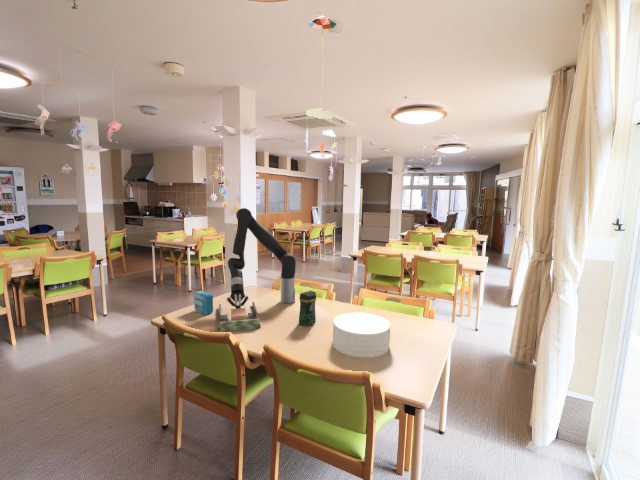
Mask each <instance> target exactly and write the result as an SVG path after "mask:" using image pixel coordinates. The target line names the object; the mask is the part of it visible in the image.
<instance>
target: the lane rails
mask: <svg viewBox="0 0 640 480" xmlns="http://www.w3.org/2000/svg"><path fill="white" fill-rule="evenodd" d="M251 304H252V309H253V313H255V317H256V318H248V319H247V320H237V321H231V320H224V321H222V320H221V315H222V314H221V313H222V311H221V310H222V304H221V303H219V305H218V326H217V327H218V328H217V329H218V330H217V331H223V332H231V331H232V330H234V331H242V330H251V329H252V330H253V329H255V330H256V329H260V328H261V322H260V318H259V315H258V311H257V307H256V303H255V301H252V303H251ZM229 330H230V331H229Z"/></svg>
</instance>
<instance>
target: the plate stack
mask: <svg viewBox="0 0 640 480" xmlns="http://www.w3.org/2000/svg"><path fill="white" fill-rule="evenodd" d="M332 321H333V323H332V324H333V325H332V346H333V348H335V350H337V351H338V352H339V353H342V354H343V355H346V356H350V357H353V358H354V357H355V358H363V359H369V358H370V359H371V358H377V357H380V356H383V355H385V354H387V353H388V352H389V350H390V344H391V343H390V342H391V340H390V339H391V322H390V321H389V320H388V319H386V318H385V317H383V316H379V315H377V314H374V313H369V312H359V311H358V312H346V313H341V314H339V315H337V316H336V317H334V319H333V320H332ZM387 351H388V352H387ZM386 352H387V353H386Z"/></svg>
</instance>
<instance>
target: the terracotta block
mask: <svg viewBox="0 0 640 480" xmlns="http://www.w3.org/2000/svg"><path fill="white" fill-rule="evenodd" d="M246 310H247V309H246V307H242V308H240V309H236V308H231V309H230V316H231V317H230V321H237V320H248V319H247V317H248V313H247V311H246Z"/></svg>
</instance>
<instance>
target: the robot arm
mask: <svg viewBox="0 0 640 480" xmlns="http://www.w3.org/2000/svg"><path fill="white" fill-rule="evenodd" d="M235 215H236V216H235V217H236V219H237V228H236V229H237V230H236V233H235V237H234V241H233V247H232V254H233V255H236V256H238V257H239V258H238V257H237V258H235V257H230V258H229V259H228V260H227V266H228V267H227V268H228V270H229V272H230V295H229V297H226V301H227V302H228V303H229V304H230V305H231V306H232V307H235V309H240V308H241V307H242V306H243V307H244V305H245V304H246V303H247V302H248V301H249V296H247V295H245V288H244V280H243V279H244V277H243V271H242V270H243V269H244V268H245V267H246V265H245V264H246V262H245V247H246V240H247V233H248V230H249V231H250V232H251V233H252V235H253V236H254V237H255V238H256V239H257V240H258V242H259V243H260V244H261V245H262V246H263V247H264V248H266V249H267V251H269V252H271V253H272V254H273V255H274V256H275V257H276V258H277V259H278V260H279V262H280V264H281V273H280V302H281V303H282V304H293V303H296V288H295V276H296V258H295V257H294V255H293V254H291V253H289V252H288V251H287V250H286V249H285V248H284V247H283V246H282V245H281V244H280V242H279V241H278V240H277V238H276V237H275V236H274V235H273V234H272V232H270V230H268V229H267V228H266V227H265V226H264V225H262V224H261V223H260V222H258V221H257V219H255V217H254V216H253V215H252V212H251V211H250V209H248V208H246V207H243V208H239V209H238V210H237V211H236V213H235Z"/></svg>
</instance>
